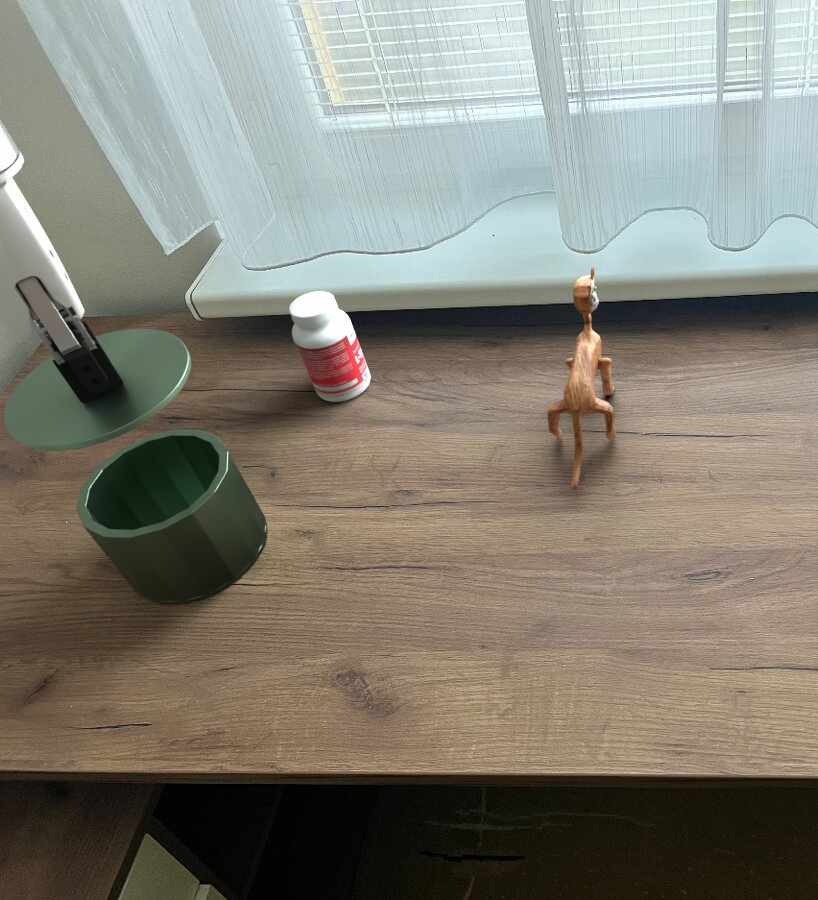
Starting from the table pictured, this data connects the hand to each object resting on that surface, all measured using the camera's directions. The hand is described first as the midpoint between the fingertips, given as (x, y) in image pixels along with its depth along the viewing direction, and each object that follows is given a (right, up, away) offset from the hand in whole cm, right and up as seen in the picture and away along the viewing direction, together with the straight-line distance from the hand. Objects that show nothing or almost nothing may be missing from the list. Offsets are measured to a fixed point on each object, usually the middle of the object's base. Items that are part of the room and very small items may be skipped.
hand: (96, 381), depth 67 cm
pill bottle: (+10, +2, +30) cm, 32 cm away
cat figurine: (+37, -4, +21) cm, 43 cm away
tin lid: (0, -1, +1) cm, 1 cm away
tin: (+1, -15, +15) cm, 21 cm away
